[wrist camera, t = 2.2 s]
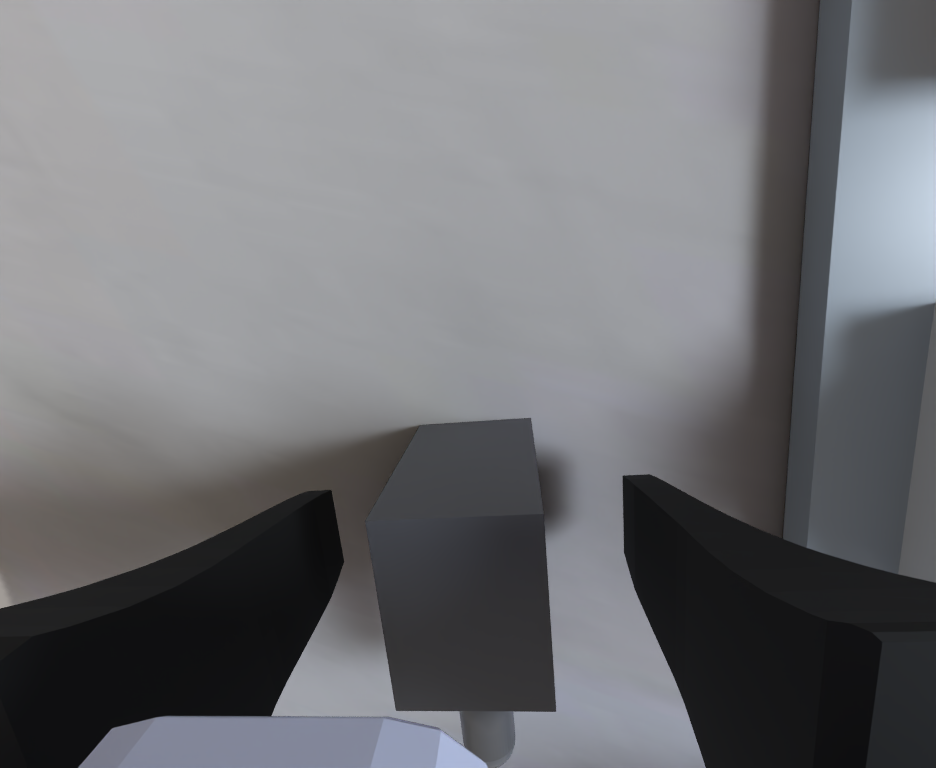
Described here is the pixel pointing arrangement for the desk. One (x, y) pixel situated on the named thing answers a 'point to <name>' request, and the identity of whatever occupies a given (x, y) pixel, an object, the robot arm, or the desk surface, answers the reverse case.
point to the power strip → (869, 295)
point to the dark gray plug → (466, 579)
